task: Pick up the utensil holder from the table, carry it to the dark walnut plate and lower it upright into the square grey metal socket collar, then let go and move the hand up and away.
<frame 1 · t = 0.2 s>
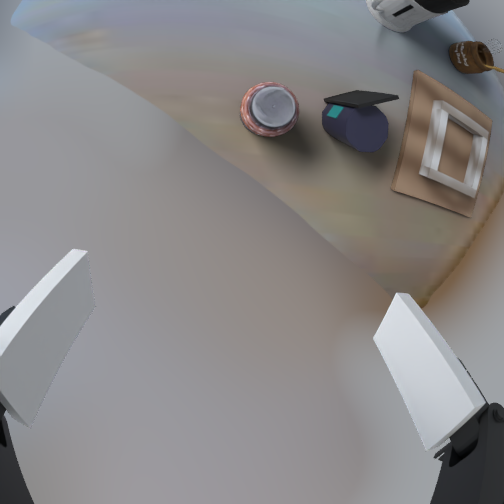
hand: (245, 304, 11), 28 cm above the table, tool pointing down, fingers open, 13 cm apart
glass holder: (379, 13, 24), on the table
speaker: (344, 118, 33), on the table
socket plate: (448, 148, 34), on the table
utensil holder: (458, 59, 26), on the table
supplement bottle: (262, 113, 32), on the table
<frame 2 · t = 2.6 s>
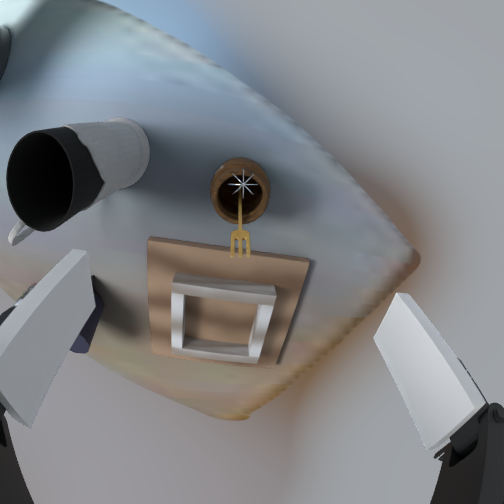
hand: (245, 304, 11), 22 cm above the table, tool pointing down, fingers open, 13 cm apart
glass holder: (102, 168, 28), on the table
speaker: (92, 299, 36), on the table
socket plate: (219, 311, 38), on the table
utensil holder: (240, 183, 30), on the table
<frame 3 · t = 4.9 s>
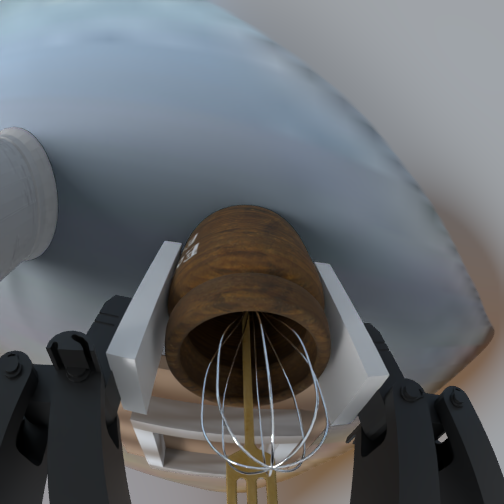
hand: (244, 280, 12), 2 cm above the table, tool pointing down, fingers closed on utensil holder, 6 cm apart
socket plate: (213, 427, 22), on the table
utensil holder: (244, 258, 14), on the table, touching gripper
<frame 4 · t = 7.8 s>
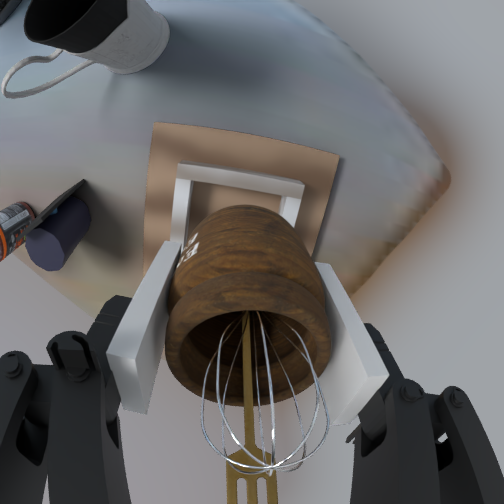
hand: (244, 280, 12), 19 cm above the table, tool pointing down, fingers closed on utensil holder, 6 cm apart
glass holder: (115, 56, 22), on the table
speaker: (79, 213, 30), on the table
socket plate: (231, 220, 31), on the table
utensil holder: (244, 257, 14), point 17 cm above the table, touching gripper
supplement bottle: (25, 218, 29), on the table
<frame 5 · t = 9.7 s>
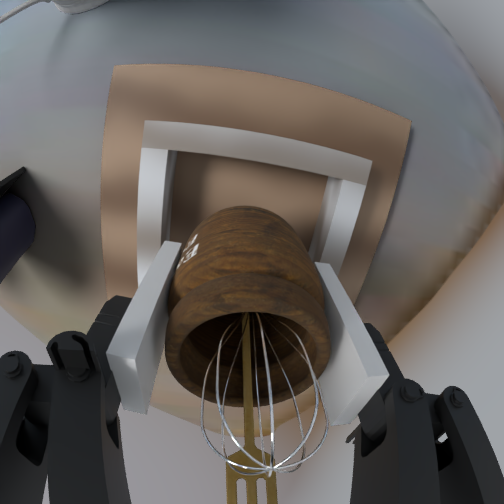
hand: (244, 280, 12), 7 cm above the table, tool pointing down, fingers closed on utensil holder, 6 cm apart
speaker: (22, 217, 18), on the table
socket plate: (242, 222, 19), on the table
utensil holder: (243, 258, 14), point 5 cm above the table, touching gripper
when the fingers open (4 cm above the table, at t = 10.9 s): utensil holder drops 1 cm, resting on socket plate.
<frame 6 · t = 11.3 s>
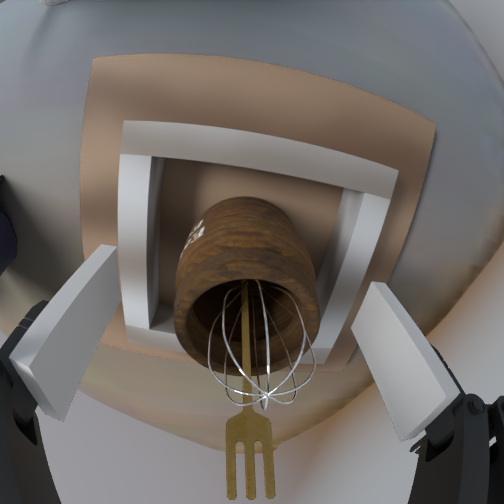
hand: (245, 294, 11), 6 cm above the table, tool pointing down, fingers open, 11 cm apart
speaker: (3, 229, 15), on the table
socket plate: (243, 239, 16), on the table
utensil holder: (243, 245, 15), point 1 cm above the table, touching socket plate
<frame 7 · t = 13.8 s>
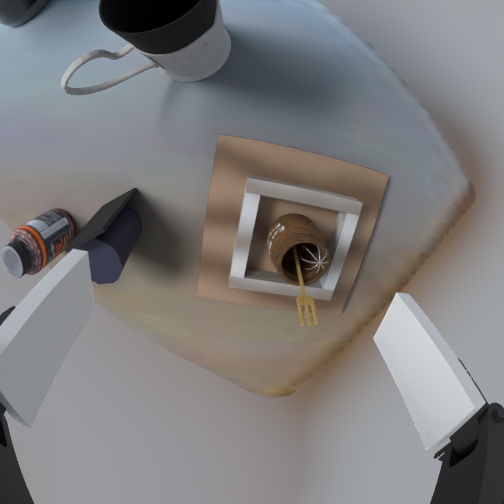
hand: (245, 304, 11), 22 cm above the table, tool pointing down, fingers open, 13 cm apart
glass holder: (172, 62, 24), on the table
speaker: (127, 223, 32), on the table
socket plate: (289, 233, 33), on the table
utensil holder: (291, 236, 32), point 1 cm above the table, touching socket plate
supplement bottle: (61, 226, 31), on the table
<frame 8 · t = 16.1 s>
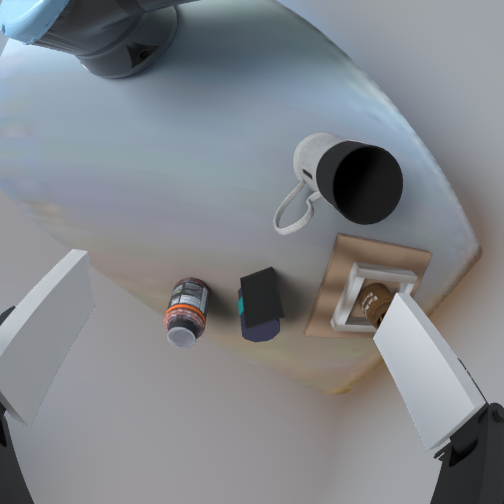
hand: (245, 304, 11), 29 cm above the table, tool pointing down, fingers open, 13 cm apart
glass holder: (307, 172, 37), on the table
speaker: (259, 290, 45), on the table
socket plate: (369, 292, 46), on the table
utensil holder: (371, 295, 45), point 1 cm above the table, touching socket plate
supplement bottle: (192, 291, 44), on the table
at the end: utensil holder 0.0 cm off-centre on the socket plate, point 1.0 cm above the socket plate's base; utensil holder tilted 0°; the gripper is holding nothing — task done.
